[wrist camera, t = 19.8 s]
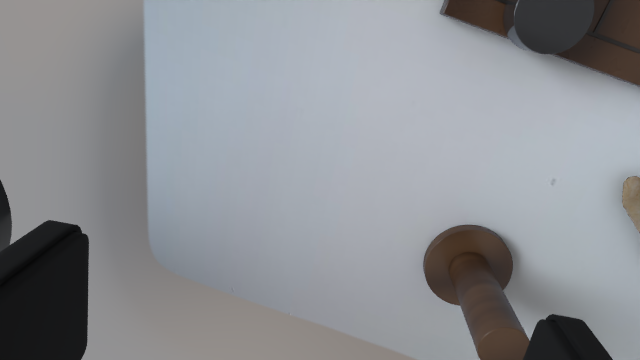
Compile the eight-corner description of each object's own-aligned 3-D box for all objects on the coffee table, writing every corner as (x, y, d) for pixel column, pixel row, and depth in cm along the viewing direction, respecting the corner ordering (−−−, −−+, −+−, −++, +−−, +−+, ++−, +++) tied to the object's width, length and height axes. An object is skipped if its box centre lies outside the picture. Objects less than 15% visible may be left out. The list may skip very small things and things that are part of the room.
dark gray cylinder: (489, 5, 32) (499, 4, 30) (556, -41, 31) (572, -46, 29) (524, 65, 33) (536, 69, 31) (590, 23, 32) (608, 24, 30)
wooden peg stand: (407, 252, 40) (425, 334, 30) (482, 209, 38) (529, 280, 28) (450, 313, 42) (481, 411, 31) (524, 274, 40) (583, 365, 30)
